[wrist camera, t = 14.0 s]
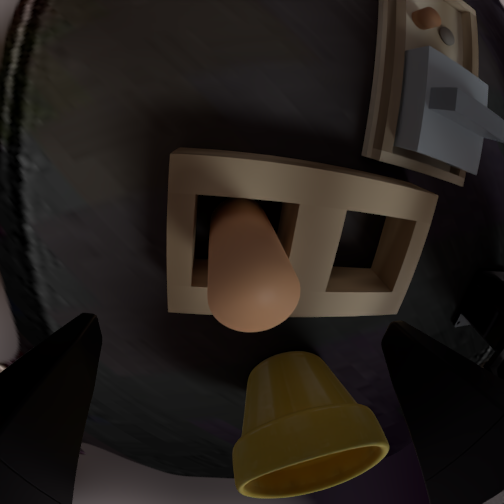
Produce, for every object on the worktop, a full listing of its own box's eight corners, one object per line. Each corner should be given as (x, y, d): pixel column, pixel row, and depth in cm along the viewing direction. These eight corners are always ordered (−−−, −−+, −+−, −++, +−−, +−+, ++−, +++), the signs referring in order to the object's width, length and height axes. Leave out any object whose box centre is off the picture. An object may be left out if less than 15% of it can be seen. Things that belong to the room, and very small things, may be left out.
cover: (462, 84, 12) (511, 87, 8) (450, 165, 15) (499, 184, 11) (402, 51, 11) (454, 41, 7) (390, 144, 14) (443, 159, 10)
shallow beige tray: (464, 15, 10) (481, 12, 8) (450, 181, 16) (469, 189, 14) (378, -36, 9) (393, -46, 7) (361, 155, 15) (378, 161, 13)
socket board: (409, 182, 16) (438, 195, 13) (376, 289, 19) (396, 313, 17) (179, 147, 14) (170, 153, 11) (174, 282, 17) (168, 312, 14)
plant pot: (330, 401, 25) (359, 482, 16) (226, 412, 24) (236, 504, 15) (359, 325, 21) (416, 425, 12) (224, 336, 19) (235, 465, 11)
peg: (271, 199, 15) (309, 258, 9) (262, 252, 17) (290, 332, 11) (212, 194, 15) (210, 252, 9) (207, 248, 16) (205, 330, 10)
